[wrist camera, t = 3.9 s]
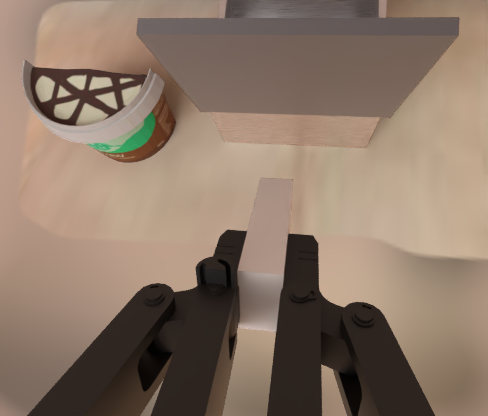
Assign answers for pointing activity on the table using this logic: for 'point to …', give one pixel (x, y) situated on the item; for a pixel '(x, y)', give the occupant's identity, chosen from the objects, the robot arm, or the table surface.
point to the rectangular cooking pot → (298, 126)
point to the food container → (102, 109)
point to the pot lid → (298, 61)
